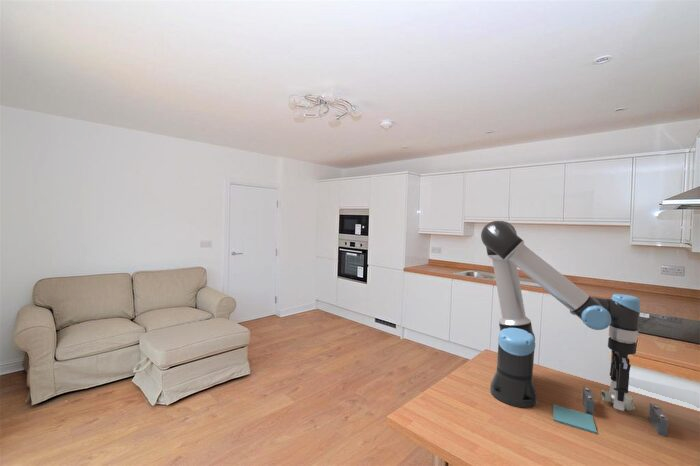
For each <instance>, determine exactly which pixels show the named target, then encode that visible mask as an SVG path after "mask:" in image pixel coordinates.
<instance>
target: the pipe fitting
mask: <svg viewBox="0 0 700 466" xmlns="http://www.w3.org/2000/svg"><path fill="white" fill-rule="evenodd" d="M614 396H615V393H614V392H610V390H609V391H608V390H601V392H600V398H601V399H602V401H603V402H607V403H612V404H614ZM624 410H626V411H629V412H630V411H633V410H636V407H635V404H634V399H633V396H631V394H628V393H626V396H625V407H624Z"/></svg>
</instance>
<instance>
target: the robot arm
mask: <svg viewBox="0 0 700 466" xmlns="http://www.w3.org/2000/svg"><path fill="white" fill-rule="evenodd" d="M480 239H481V242H482V244H483V246H485V248H486V253H487V257H488V258H489V259H491V260H492V266H493V271H494V277H495V284H496V289H497V295H498V301H499V307H500V311H501V312H500V313H501V318H500V319H499V320H498V325H499V331H500V332H499V334H498V338H497V342H498V346H497V348H498V349H497V360H496V370H495V373H494V376H493V377H492V380H491V383H490V384H489V385H490V386H489V387H490V388H489V392H490V394H491V395H492V396H493V398H495V399H497V400H498V401H500V402H502V403H504V404H507V405H509V406H513V407H516V408H532V407H534V406H536V405H537V400H538V396H537V391H536V388H535V384H534V381H533V374H534V361H535V349H536V335H535V334H534V331H533V326H532V320H531V319H530V318H528V317H527V316H526V311H525V304H524V300H523V294H522V288H521V284H520V283H521V281H520V277H519V276H520V275H519V271H518V269H519V270H520V271H521V272H523V273H524V274H525V275H526V276H527V277H529V278H530V279H531V280H532V281H534V282H535V283H537V285H539V286H540V287H541V288H542V289H543V290H545V291H546V292H547V293H548V294H550V295H551V296H552V297H553V298H554V299H556V300H557V301H558V302H560V304H562V305H563V306H565V307H566V308H567V309H568V310H569V313H570V314H571V315H573V316H576V317H577V318H579V319H580V320H581V321H582V323H583V324H584V325H586V327H588V328H589V329H592V330H595V331H601V330H606V329H607V328H608V336H609V337H608V340H607V347H608V349H610V351H611V360H610V370H609V376H610V386H609V392H614V393H615V396H614V403H613V405H612V406H613V409H616V410H620V411H624V412H625V409H624V407H625V396H626V394H629V385H630V383H629V382H630V370H631V366H632V365H631V364H630V358H628V357H629V356H631V355H636V353H637V347H638V345H637V344H638V343H636V342H637V341H638V336H640V332H639V325H640V324H639V323H640V314H641V300H640V298H638V297H637V296H633V295H629V294H622V293H620V294H619V293H614V294H613V295H612V297H611V298H603V297H596V296H590V295H589V294H587V292H585V291H584V290H582V289H581V288H580V287H578V285H576V284H575V283H573V282H572V281H571V280H570V279H569V278H567V277H566V276H564V275H563V274H562V273H561V272H559V271H558V270H557V269H556V268H555V267H553V266H552V265H550V264H549V263H548V262H547V261H545V260H544V259H543V258H542V257H541V256H539V255H538V254H536V253H535V252H534V251H533V250H531V249H530V248H529V247H527V246H526V245H525V241H524V240H523V239H522V238H521V237H520V236H518V235H517V231H516V229H515V227H514V225H512V224H511V223H509V222H507V221H504V220H494V221H493V220H492V221H491V222H488V223H487V224H485V225H484V227H483V228H482V230H481V235H480Z"/></svg>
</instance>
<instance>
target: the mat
mask: <svg viewBox="0 0 700 466" xmlns="http://www.w3.org/2000/svg"><path fill="white" fill-rule="evenodd" d="M552 413H553V421H554V422H556V423H559V424H562V425H567V426H569V427H572V428H575V429H579V430H582V431H586V432H589V433H592V434H595V435H597V433H598V431H597V429H596V425H595V420H594V417H593V416H592V415H589V414H586V412H581V411H578V410H575V409H570V408H568V407H565V406H564V407H563V406H561V405H557V404H552Z"/></svg>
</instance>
